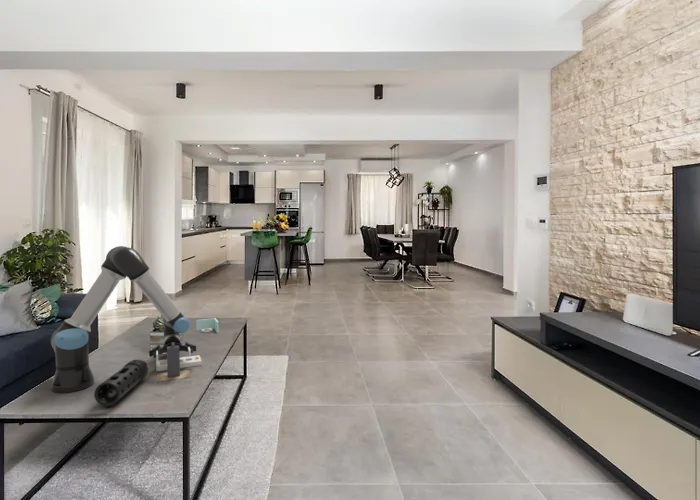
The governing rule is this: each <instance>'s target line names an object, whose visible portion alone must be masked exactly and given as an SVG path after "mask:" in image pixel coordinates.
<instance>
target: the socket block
mask: <svg viewBox="0 0 700 500" xmlns="http://www.w3.org/2000/svg"><path fill="white" fill-rule="evenodd" d="M202 363H203V361H202V357H201V356H200V355H191V357H189V356H183V357H182V356H181V357H180V369H183V368H184V369H185V368H190V367H198V366H202V365H203V364H202ZM155 370H156V372H161V371H167V358H166V359H158V361H155Z"/></svg>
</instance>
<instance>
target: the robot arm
mask: <svg viewBox="0 0 700 500" xmlns="http://www.w3.org/2000/svg"><path fill="white" fill-rule="evenodd" d="M100 269H101V272H100V274H99V275H98V277H97V279H95V281H94V283H93V284H92V286H91V287H90V288H89V291H88V292H87V293H86V294H85V296H84V298H82V300H81V302H80V303H79V304H78V306H77V308H76V309H75V311H74V312H73V313H72V316H71V317H70V318H66V319H64V320H63V322H62V323H61V325H60V326H59V327H58V328H57V329H55V330H54V331H53V333H52V335H51V337H50V345H51V347H52V349H53V351H54V354H55V373H54V376H53V379H52V381H51V392H54V393H59V394H63V393H72V392H78V391H81V390H84V389H88V388H89V387H91V386H93V385H94V384H95V375H94V374H93V372H92V369H91V368H90V361H89V360H90V354H89V353H90V352H89V335H90V333H91V331H92V330H91V325H92V324H93V322H94V321H95V319H96V317H97V316H98V314H99V313H100V311H101V310H102V308H103V307H104V305H105V303H106V302H107V301H108V300H109V298H110V296H111V295H112V293H113V292H114V290H115V288H116V287H117V286H118V284H119V282H120V281H122V280H125V279H126V278H128V279H129V281H130V282H134V283H135V284H136V285H137V286H138V288H139V289H140V291H141V292H142V293H143V294H144V295H145V297H146V298H147V299H148V300H149V302H150V303H151V304H152V306H153V307H154V308H155V309H156V310H157V311H158V312H159V314H160V315H161V316H162V319H163V321H162V322H163V337H162V338H163V346H161V345H160V344H158V345H156V346H155V347H154V348H152V349H150V350H149V351H148V355H149V357H150V358H151V357H153V359H155V360H156V361H158V360H159V356H160V355H162V354H167V347H168V346H172V342H174V346H177V345H179V352H187V354H188V357H191V356H192V354H193V353H194V352H197V345H194V344H191V343H189V342H188V341H185V342H184V344H183V343H181V338H180V334H184V333H186V332H188V331H189V329H190V327H191V322H190V320H189V319H188V318H187V317H185V316H184V314H183V313H182V312H181V311H180V309H179V308H178V307H177V306H176V304H175V303H174V302H173V300H172V299H171V298H170V296H168V294H167V293H166V291H165V290H164V289H163V288H162V286H161V284H159V282H158V281H157V280H156V278H155V277H154V276H153V275H152V274H151V272H150V267H149V266H148V264H147V263H146V261H145V260H144V258H143V257H142V256H141V254H140V253H139V252H138V251H137V250H136V249H134V248H132V247H129V246H122V245H120V246H115V247H113V248H111V249H110V250H109V251H108V252H107V253H106V256H105V260H104V261H103V263H102V264H101V266H100ZM156 361H155V362H156Z"/></svg>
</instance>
